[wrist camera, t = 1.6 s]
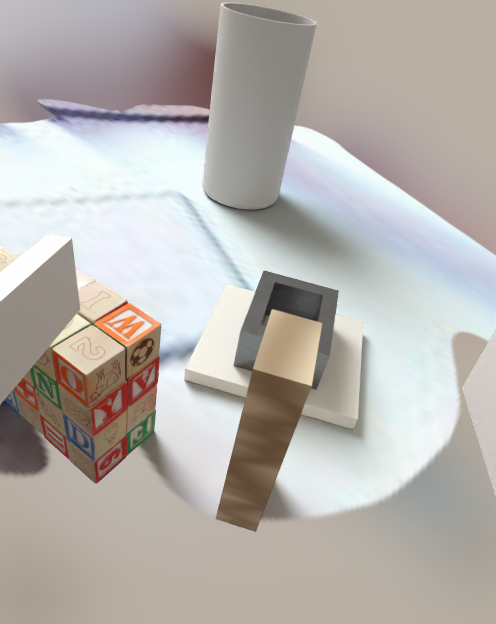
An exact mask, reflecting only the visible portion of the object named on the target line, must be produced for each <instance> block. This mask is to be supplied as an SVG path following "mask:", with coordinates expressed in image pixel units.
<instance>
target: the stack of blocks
mask: <svg viewBox="0 0 496 624" xmlns="http://www.w3.org/2000/svg"><path fill="white" fill-rule="evenodd" d="M24 253H25V252H24ZM24 253H22V254H24ZM22 254H19V255H17V256H14V255H12V254H11V253H9V252H8V251H6V250H5V249H3V248H2V247H0V272H1V271H2V270H4V269H5V268H6V267H7V266H9V265H10V264H11V263H12V262H14V261H15V260H16V259H17V258H19V257H20V256H21V255H22ZM75 269H76V277H77V285H78V294H79V302H80V310H79V312H78V313H77V314H76V315H75V316H74V318H73V319H72V320H71V321H70V322H69V324H68V325H67V326H66V327H65V328H64V330H63V331H62V332H61V333H60V334H59V335H58V337H57V338H56V339H55V340H54V341H53V343H52V344H51V345H50V346H49V347H48V349H47V350H46V351H45V352H44V353H43V354H42V356H41V357H40V358H39V359H38V360H37V362H36V363H35V364H34V365H33V366H32V368H31V369H30V370H29V371H28V372H27V373H26V375H25V376H24V377H23V378H22V379H21V381H20V382H19V383H18V384H17V385H16V387H15V388H14V389H13V390H12V391H11V393H10V394H9V395H8V396H7V397H6V398H5V400H4V401H5V402H6V403H8V404H9V405H10V406H11V407H12V408H13V409H14V410H15V411H16V412H18V413H19V414H21V415H22V416H23V417H24V418H25V419H26V420H27V421H28V422H29V423H30V424H32V425H33V426H34V427H35V428H36V429H37V430H38V431H39V432H41V433H42V434H43V435H44V437H45V438H46V439H47V440H48V441H49V442H50V443H51V444H52V445H53V446H54V447H56V448H57V449H58V450H59V451H60V452H61V453H62V454H63V455H64V456H66V457H67V458H68V459H69V460H70V461H71V462H72V463H73V464H74V465H75V466H76V467H77V468H79V469H80V470H81V471H82V472H83V473H84V474H85V475H86V476H87V477H88V478H89V479H91V480H92V481H93V482H94V483H98V482H99V481H100V480H102V479H103V478H104V477H105V476H106V475H107V474H108V473H109V472H110V471H112V470H113V469H114V468H115V467H116V466H117V465H118V464H119V463H120V462H121V461H122V460H124V459H125V458H126V456H127V455H128V454H129V453H131V452H132V451H133V450H134V449H135V448H136V447H138V445H139V444H140V443H141V442H142V441H144V440H145V439H146V438H147V437H148V436H149V435H150V434H152V433H153V432H154V427H155V415H156V410H155V405H156V393H157V383H158V375H159V373H158V371H159V360H160V357H159V348H160V335H161V323H159V322H158V321H156V320H155V319H153V318H151V317H150V316H148V315H147V314H145V313H144V312H142V311H141V310H139V309H138V308H136V307H134V306H133V305H131V304H130V303H128V302H127V300H126V298H124V297H122V296H121V295H119V294H118V293H116V292H114V291H113V290H111V289H110V288H108V287H106V286H105V285H103V284H101V283H100V282H98V281H97V282H96V280H95V279H93V278H92V277H91V276H89V275H87V274H85V273H84V272H82V271H81V270H79V269H77V268H76V267H75Z"/></svg>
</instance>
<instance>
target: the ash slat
mask: <svg viewBox="0 0 496 624" xmlns="http://www.w3.org/2000/svg"><path fill="white" fill-rule="evenodd" d="M321 328H322V323H320V322H317V321H313V320H309V319H306V318H302V317H299V316H295V315H291V314H288V313H284V312H281V311H277V310H274V309H272V310H271V314H270V317H269V320H268V323H267V326H266V329H265V332H264V335H263V339H262V342H261V345H260V348H259V351H258V354H257V357H256V361H255V364H254V367H253V370H252V374H251V378H250V382H249V386H248V390H247V394H246V398H245V403H244V407H243V411H242V415H241V419H240V423H239V427H238V431H237V435H236V439H235V443H234V447H233V451H232V455H231V459H230V463H229V467H228V471H227V475H226V479H225V483H224V487H223V491H222V495H221V499H220V504H219V508H218V512H217V516H216V519H218V520H221V521H224V522H227V523H230V524H233V525H236V526H239V527H243V528H246V529H249V530H252V531H256V530H257V527H258V524H259V522H260V519H261V517H262V514H263V511H264V509H265V506H266V504H267V501H268V498H269V496H270V493H271V491H272V488H273V485H274V483H275V480H276V478H277V475H278V472H279V470H280V467H281V465H282V462H283V459H284V457H285V454H286V452H287V449H288V446H289V444H290V441H291V439H292V436H293V433H294V431H295V428H296V426H297V423H298V420H299V418H300V415H301V413H302V410H303V407H304V405H305V402H306V400H307V397H308V394H309V392H310V389H311V387H312V381H313V376H314V370H315V364H316V358H317V352H318V346H319V340H320V334H321Z"/></svg>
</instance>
